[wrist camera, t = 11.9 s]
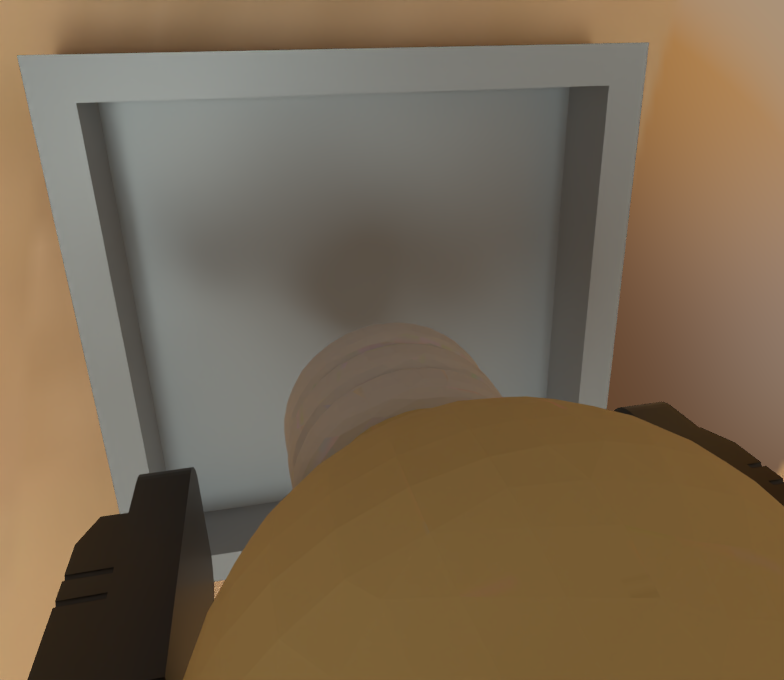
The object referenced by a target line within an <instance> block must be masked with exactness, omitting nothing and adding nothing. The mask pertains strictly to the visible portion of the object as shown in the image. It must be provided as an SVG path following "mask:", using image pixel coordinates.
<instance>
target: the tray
mask: <svg viewBox="0 0 784 680" xmlns="http://www.w3.org/2000/svg"><path fill="white" fill-rule="evenodd" d="M648 46H649V43H603V44H554V45H505V46H455V47H406V48H357V49H307V50H258V51H208V52H159V53H110V54H60V55H17V58H18V62H19V67H20V71H21V76H22V80H23V85H24V89H25V93H26V98H27V102H28V107H29V111H30V116H31V120H32V125H33V129H34V134H35V138H36V142H37V147H38V151H39V156H40V160H41V165H42V169H43V174H44V178H45V183H46V187H47V191H48V196H49V200H50V205H51V209H52V214H53V218H54V223H55V227H56V232H57V236H58V240H59V245H60V249H61V254H62V258H63V263H64V267H65V272H66V276H67V281H68V285H69V289H70V294H71V298H72V303H73V307H74V312H75V316H76V321H77V325H78V330H79V334H80V338H81V343H82V347H83V352H84V356H85V361H86V365H87V370H88V374H89V379H90V383H91V387H92V392H93V396H94V401H95V405H96V410H97V414H98V419H99V423H100V428H101V432H102V436H103V441H104V445H105V450H106V454H107V459H108V463H109V468H110V472H111V477H112V481H113V485H114V490H115V494H116V499H117V503H118V508H119V512H120V514H123V513H128V512H129V508H130V504H131V501H132V497H133V493H134V489H135V485H136V481H137V478H138V476H139V475H140V474H146V473H153V472H161V471H168V470H175V469H182V468H189V467H194V468H195V470H196V473H197V477H198V482H199V488H200V494H201V499H202V505H203V511H204V516H205V522H206V528H207V533H208V539H209V545H210V550H211V557H212V565H213V576H214V582H215V581H221V580H226V578H227V576H228V574H229V573H230V571H231V569H232V567H233V565H234V564H235V562H236V560H237V559H238V557H239V556H240V554H241V553H242V551H243V550H244V548H245V546H246V545H247V543H248V542H249V540H250V539H251V537H252V536H253V535H254V533H255V532H256V530H257V529H258V528H259V526H260V525H261V523H262V522H263V521H264V519H265V518H266V516H267V515H268V514H269V513H270V512H271V511H272V510H273V509H274V508H275V507H276V506H277V505H278V504H279V503H280V502H281V501H282V500H283V499H284V498H285V497H286V496H287V495H288V494H289V493H290V492H291V491H292V483H291V478H290V473H289V466H288V453H287V448H286V441H285V434H284V418H285V413H286V407H287V402H288V399H289V397H290V394H291V391H292V389H293V387H294V385H295V383H296V381H297V379H298V377H299V375H300V373H301V371H302V370H303V369H304V368H305V367H306V365H307V364H308V363H309V362H310V361H311V360H312V358H313V357H314V356H316V355H317V354H318V353H319V352H320V351H322V350H323V349H324V348H325V347H326V346H328V345H329V344H330V343H332V342H333V341H335V340H337V339H339V338H340V337H342V336H344V335H346V334H347V333H350V332H352V331H355V330H358V329H360V328H364V327H367V326H370V325H374V324H385V323H397V322H399V323H410V324H416V325H420V326H424V327H428V328H431V329H433V330H435V331H437V332H439V333H441V334H443V335H445V336H447V337H449V338H450V339H452V340H454V341H455V342H456V343H457V344H458V345H459V346H460V347H462V348H463V349H464V350H465V351H466V352H467V353H468V354H469V355H470V356H471V358H472V359H473V360H474V361H475V363H476V364H477V366H478V367H479V369H480V370H481V371H482V372H483V373H484V374H485V375H486V376H487V377H488V378H489V380H490V381H491V382H492V384H493V385H494V386H495V388H496V389H497V390H498V391H499V393H500V394H501V396H502V397H523V396H527V397H538V398H549V399H558V400H563V401H568V402H574V403H579V404H585V405H590V406H595V407H599V408H603V409H607V400H608V391H609V383H610V375H611V366H612V357H613V349H614V340H615V332H616V322H617V314H618V306H619V297H620V288H621V279H622V271H623V263H624V254H625V245H626V237H627V228H628V219H629V211H630V202H631V193H632V185H633V176H634V167H635V159H636V150H637V141H638V133H639V124H640V115H641V107H642V98H643V89H644V81H645V72H646V63H647V55H648Z"/></svg>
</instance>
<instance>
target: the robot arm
mask: <svg viewBox="0 0 784 680" xmlns="http://www.w3.org/2000/svg"><path fill="white" fill-rule="evenodd" d="M614 411H615V412H620V413H624V414H628V415H632V416H635V417H637V418H639V419H642V420H644V421H646V422H649V423H651V424H653V425H656V426H658V427H660V428H663V429H665V430H667V431H670V432H672V433H674V434H677V435H679V436H682V437H684V438H686V439H689V440H691V441H693V442H694V443H696V444H698V445H699V446H701V447H703V448H704V449H706V450H707V451H709V452H711V453H712V454H714V455H715V456H717V457H719V458H720V459H722V460H723V461H725V462H727V463H728V464H730V465H731V466H733V467H734V468H736V469H737V470H739V471H740V472H742V473H743V474H745V475H746V476H748V477H749V478H751V479H752V480H754V481H755V482H756V483H758V484H759V485H760V486H761V487H762V488H763V489H764V490H766V491H767V492H768V493H769V494H770V495H771V496H772V497H774V498H775V499H776V500H777V501H778V502H779V503H780V504H782V505H783V506H784V482H783V478H781V477H780V476H779V475H777V474H776V473H775V472H773V471H772V470H771V469H769V468H768V467H767V466H763V467H762V466H761V462H760V461H759V460H757V459H756V458H755V457H753V456H752V455H751V454H749V453H748V452H747V451H745V450H744V449H743V448H741V447H740V446H739V445H737V444H736V443H735V442H732V441H730V440H728V439H726V438H723V437H721V436H719V435H717V434H714V433H712V432H710V431H707V430H705V429H703V428H699V427H698V426H696V425H695V424H694V423H693V422H691V421H690V420H689V419H687V418H686V417H685V416H684V415H682V414H681V413H679V412H678V411H677V410H676V409H674V408H673V407H672V406H671V405H669V404H667V403H665V402H656V403H649V404H643V405H635V406H628V407H621V408H617V409H616V410H614ZM213 601H214V576H213V565H212V557H211V550H210V545H209V539H208V533H207V528H206V522H205V516H204V511H203V505H202V499H201V494H200V488H199V482H198V477H197V473H196V470H195V468H194V467H189V468H182V469H175V470H168V471H161V472H153V473H146V474H140V475H139V476H138V478H137V481H136V485H135V489H134V493H133V497H132V501H131V504H130V508H129V512H128V513H123V514H116V515H110V516H103V517H100V518H99V519H98V520H97V521H96V523H95V524H94V525H93V526H92V527H91V528H90V529H89V530H88V531H87V532H86V533H85V535H84V536H83V537H82V538H81V539H80V540H79V541H78V542H77V543H76V544H75V547H74V550H73V552H72V555H71V558H70V561H69V564H68V567H67V569H66V572H65V581H62V584H61V586H60V589H59V592H58V595H57V598H56V601H55V602H56V607H55V608H53V609H52V612H51V615H50V618H49V620H48V623H47V626H46V629H45V632H44V635H43V637H42V640H41V643H40V646H39V649H38V652H37V654H36V657H35V660H34V663H33V666H32V669H31V671H30V674H29V677H28V680H183V678H184V675H185V672H186V670H187V667H188V664H189V662H190V659H191V656H192V653H193V651H194V648H195V645H196V642H197V640H198V637H199V634H200V631H201V629H202V626H203V623H204V620H205V618H206V615H207V612H208V610H209V609H210V607H211V605H212V603H213Z"/></svg>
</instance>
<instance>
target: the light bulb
mask: <svg viewBox="0 0 784 680" xmlns="http://www.w3.org/2000/svg"><path fill="white" fill-rule="evenodd" d="M284 434H285V441H286V448H287V453H288V466H289V473H290V478H291V483H292V491H291V492H290V493H289V494H288V495H287V496H286V497H285V498H284V499H283V500H282V501H281V502H280V503H279V504H278V505H277V506H276V507H275V508H274V509H273V510H272V511H271V512H270V513H269V514H268V515H267V516H266V518H265V519H264V521H263V522H262V523H261V525H260V526H259V528H258V529H257V530H256V532H255V533H254V535H253V536H252V537H251V539H250V540H249V542H248V543H247V545H246V546H245V548H244V550H243V551H242V553H241V554H240V556H239V557H238V559H237V560H236V562H235V564H234V565H233V567H232V569H231V571H230V573H229V574H228V576H227V578H226V580H225V582H224V583H223V585H222V587H221V589H220V591H219V592H218V594H217V596H216V598H215V600H214V601H213V603H212V605H211V607H210V609H209V610H208V612H207V615H206V618H205V620H204V623H203V626H202V629H201V631H200V634H199V637H198V640H197V642H196V645H195V648H194V651H193V653H192V656H191V659H190V662H189V664H188V667H187V670H186V672H185V675H184V678H183V680H784V506H783V505H782V504H780V503H779V502H778V501H777V500H776V499H775V498H774V497H772V496H771V495H770V494H769V493H768V492H767V491H766V490H764V489H763V488H762V487H761V486H760V485H759V484H758V483H756V482H755V481H754V480H752V479H751V478H749V477H748V476H746V475H745V474H743V473H742V472H740V471H739V470H737V469H736V468H734V467H733V466H731V465H730V464H728V463H727V462H725V461H723V460H722V459H720V458H719V457H717V456H715V455H714V454H712V453H711V452H709V451H707V450H706V449H704V448H703V447H701V446H699V445H698V444H696V443H694V442H693V441H691V440H689V439H686V438H684V437H682V436H679V435H677V434H674V433H672V432H670V431H667V430H665V429H663V428H660V427H658V426H656V425H653V424H651V423H649V422H646V421H644V420H642V419H639V418H637V417H635V416H632V415H628V414H624V413H620V412H615V411H611V410H607V409H603V408H599V407H595V406H590V405H585V404H579V403H574V402H568V401H563V400H558V399H549V398H538V397H527V396H523V397H502V396H501V394H500V393H499V391H498V390H497V389H496V388H495V386H494V385H493V384H492V382H491V381H490V380H489V378H488V377H487V376H486V375H485V374H484V373H483V372H482V371H481V370H480V369H479V367H478V366H477V364H476V363H475V361H474V360H473V359H472V358H471V356H470V355H469V354H468V353H467V352H466V351H465V350H464V349H463V348H462V347H460V346H459V345H458V344H457V343H456V342H455V341H454V340H452V339H450V338H449V337H447V336H445V335H443V334H441V333H439V332H437V331H435V330H433V329H431V328H428V327H424V326H420V325H416V324H410V323H399V322H397V323H385V324H374V325H370V326H367V327H364V328H360V329H358V330H355V331H352V332H350V333H347V334H346V335H344V336H342V337H340V338H339V339H337V340H335V341H333V342H332V343H330V344H329V345H328V346H326V347H325V348H324V349H323V350H322V351H320V352H319V353H318V354H317V355H316V356H314V357H313V358H312V360H311V361H310V362H309V363H308V364H307V365H306V367H305V368H304V369H303V370H302V371H301V373H300V375H299V377H298V379H297V381H296V383H295V385H294V387H293V389H292V391H291V394H290V397H289V399H288V402H287V407H286V413H285V418H284Z"/></svg>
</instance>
